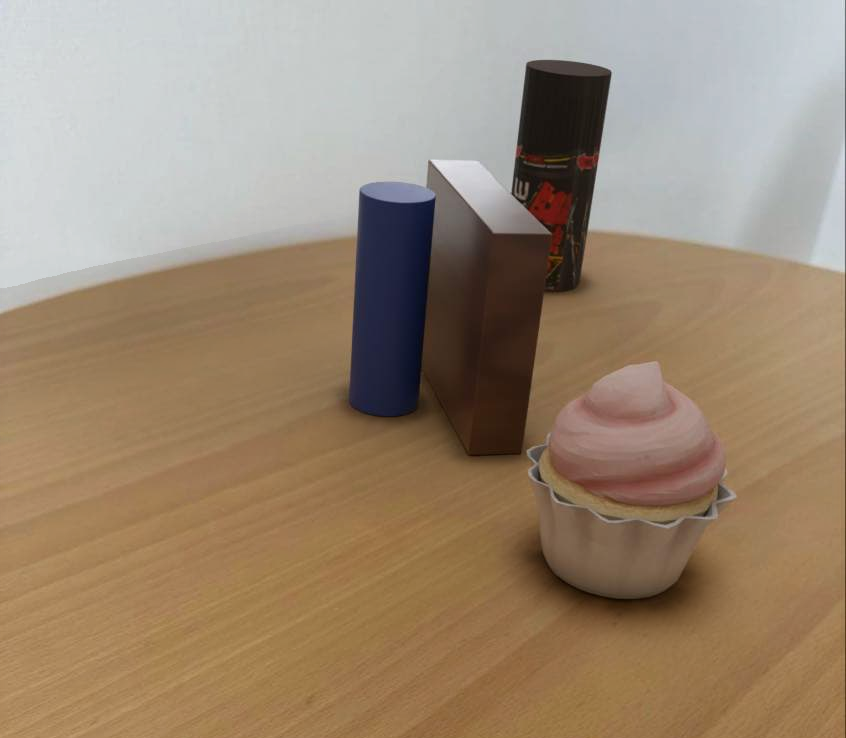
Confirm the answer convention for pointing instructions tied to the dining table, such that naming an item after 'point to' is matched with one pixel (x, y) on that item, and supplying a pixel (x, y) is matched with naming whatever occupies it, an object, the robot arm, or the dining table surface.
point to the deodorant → (561, 157)
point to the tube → (390, 296)
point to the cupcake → (627, 485)
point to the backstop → (483, 305)
